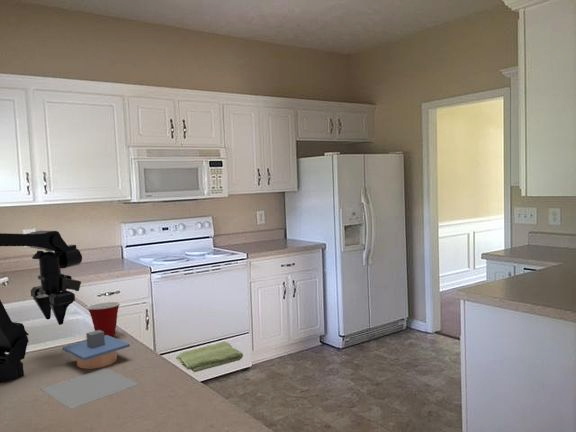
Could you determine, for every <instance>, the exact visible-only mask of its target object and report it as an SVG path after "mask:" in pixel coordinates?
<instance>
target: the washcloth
mask: <svg viewBox="0 0 576 432" xmlns="http://www.w3.org/2000/svg"><path fill="white" fill-rule="evenodd" d="M243 357H244V354H243V352H241V351H240V350H238V349H237V348H235V347H233V345H231V343H229V342H227V341H220V342H217V343H216V344H209V345H206V346H203V347H199V348H194V349H190V350H187V351H183V352H181V353H180V354H178V355H177V356H176V357H175V359H177V361H178V362H179V364H181V365H182V366H183V368H185V369H186V370H189V371H190V370H191V371H192V372H193V373H198V372H201V371H205V370H208V369H212V368H216V367H219V366H223V365H227V364H230V363H234V362H239V361H241V360H242V359H243Z"/></svg>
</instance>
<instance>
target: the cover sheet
mask: <svg viewBox="0 0 576 432" xmlns="http://www.w3.org/2000/svg"><path fill="white" fill-rule="evenodd" d="M130 345H131V344H130V343H129V342H125V341H123V340H120V339H118V338H116V337H114V338H113V337H111V336H108V335H105V336H104V332H103V331H101V330H97V331H95V330H94V331H93V330H92V331H90V332H86V340H83V341H81V342H77V343H73V344H69V345H66V346H62V351H64V352H66V353H69V354H70V355H73V356H74V357H78V358H80V359H82V360H87V359H91V358H94V357H97V356H101V355H104V354H107V353H111V352H114V351H116V352H118V351H120V350H123V349H126V348H130Z"/></svg>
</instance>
